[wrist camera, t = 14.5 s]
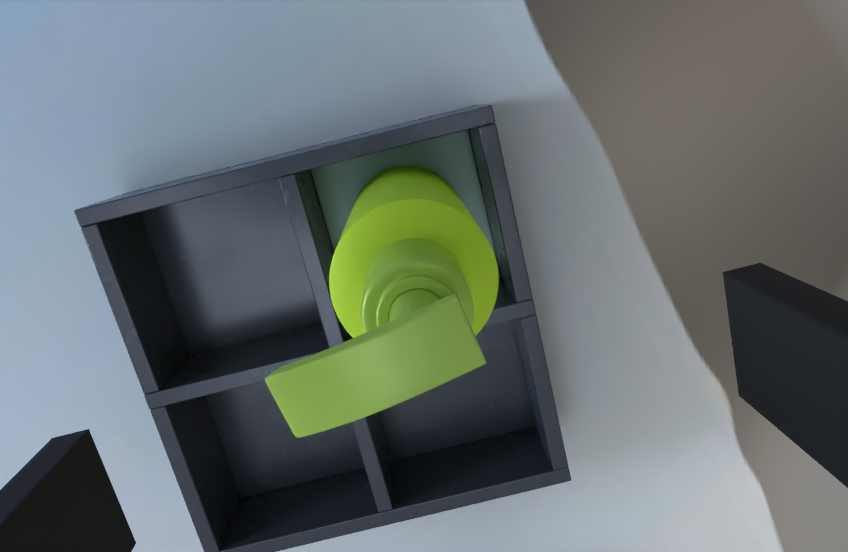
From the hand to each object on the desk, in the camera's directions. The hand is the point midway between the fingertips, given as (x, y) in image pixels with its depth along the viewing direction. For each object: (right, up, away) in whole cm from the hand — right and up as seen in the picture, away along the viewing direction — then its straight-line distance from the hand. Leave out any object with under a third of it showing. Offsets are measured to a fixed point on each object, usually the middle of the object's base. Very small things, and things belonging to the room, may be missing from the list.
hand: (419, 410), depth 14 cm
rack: (-4, 0, +25) cm, 25 cm away
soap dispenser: (-1, +6, +23) cm, 23 cm away
